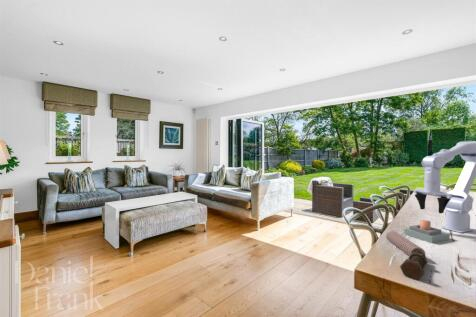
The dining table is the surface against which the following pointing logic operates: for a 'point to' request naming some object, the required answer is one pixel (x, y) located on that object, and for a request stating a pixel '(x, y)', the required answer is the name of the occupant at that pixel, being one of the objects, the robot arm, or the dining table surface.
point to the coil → (403, 243)
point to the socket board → (427, 234)
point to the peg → (425, 224)
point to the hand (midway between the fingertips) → (431, 211)
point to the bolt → (414, 265)
